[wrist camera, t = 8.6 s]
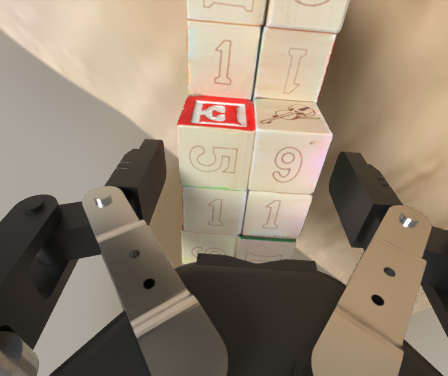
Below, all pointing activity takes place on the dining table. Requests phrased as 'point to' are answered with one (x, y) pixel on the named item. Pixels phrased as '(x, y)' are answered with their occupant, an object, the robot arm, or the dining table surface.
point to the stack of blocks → (253, 123)
